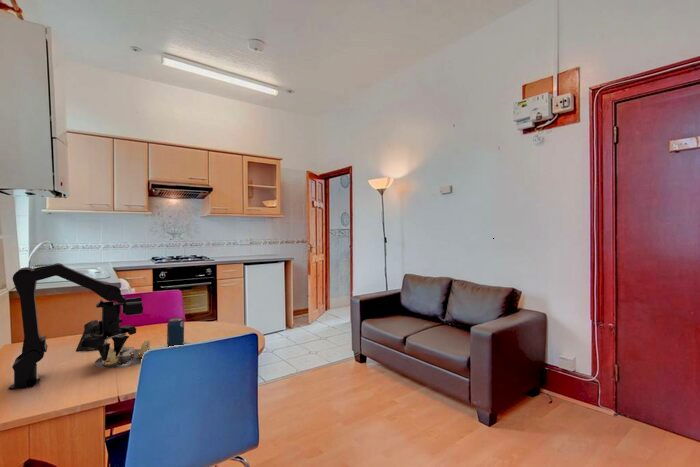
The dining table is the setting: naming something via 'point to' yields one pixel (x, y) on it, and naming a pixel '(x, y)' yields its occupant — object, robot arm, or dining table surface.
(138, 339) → the dining table surface
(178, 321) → the soda can
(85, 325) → the phone stand
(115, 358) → the wing knob
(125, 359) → the levelling base
